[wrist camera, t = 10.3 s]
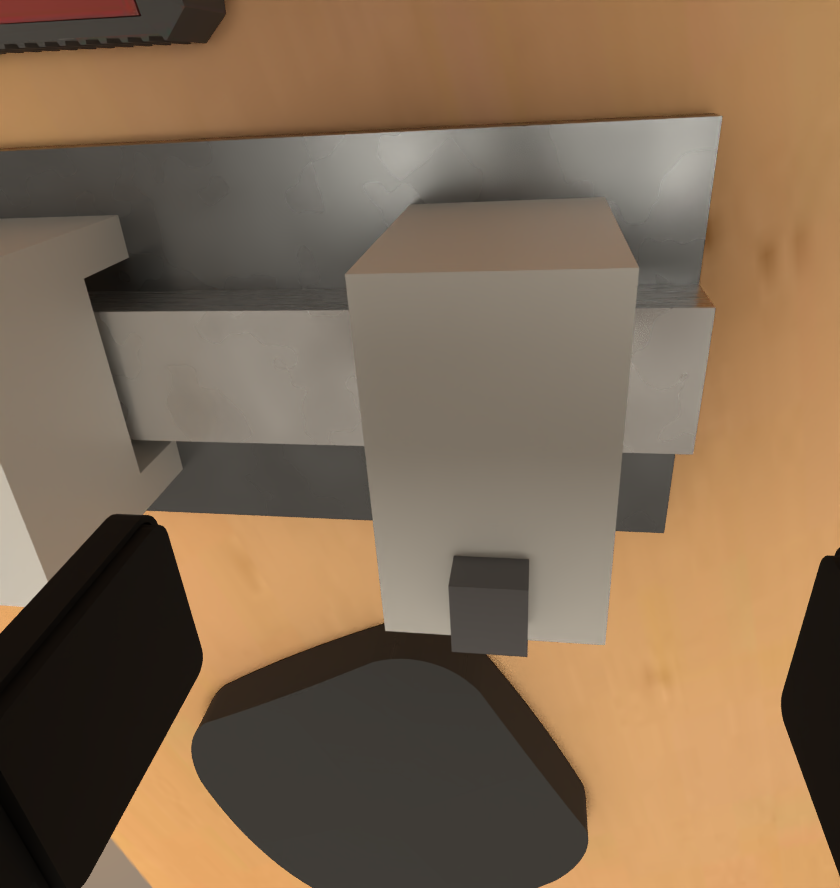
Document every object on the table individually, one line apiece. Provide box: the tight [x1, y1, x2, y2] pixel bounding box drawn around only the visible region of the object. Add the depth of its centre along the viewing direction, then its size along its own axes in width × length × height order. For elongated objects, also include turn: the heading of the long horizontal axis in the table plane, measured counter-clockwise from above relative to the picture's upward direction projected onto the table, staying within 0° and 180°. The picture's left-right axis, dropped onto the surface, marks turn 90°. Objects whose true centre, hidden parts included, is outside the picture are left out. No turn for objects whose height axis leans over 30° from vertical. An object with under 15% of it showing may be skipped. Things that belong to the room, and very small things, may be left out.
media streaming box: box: [191, 624, 588, 888], centre depth 30 cm, size 15×15×3 cm
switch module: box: [345, 197, 639, 657], centre depth 16 cm, size 9×5×8 cm, turn 4°
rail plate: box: [0, 113, 722, 533], centre depth 20 cm, size 12×22×3 cm, turn 93°
